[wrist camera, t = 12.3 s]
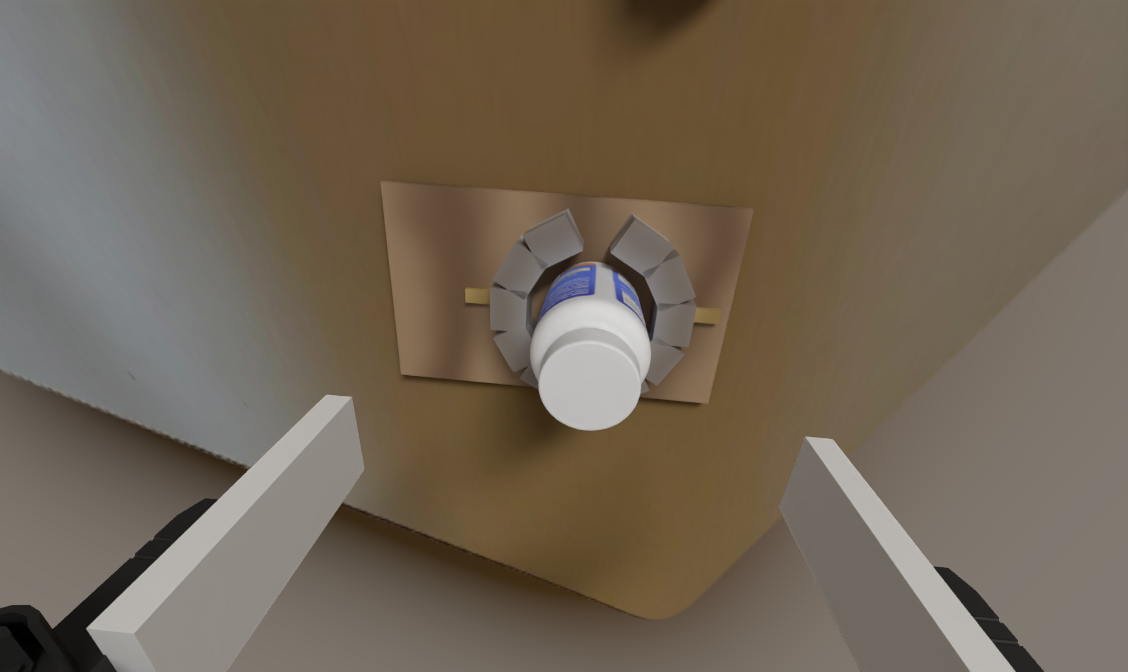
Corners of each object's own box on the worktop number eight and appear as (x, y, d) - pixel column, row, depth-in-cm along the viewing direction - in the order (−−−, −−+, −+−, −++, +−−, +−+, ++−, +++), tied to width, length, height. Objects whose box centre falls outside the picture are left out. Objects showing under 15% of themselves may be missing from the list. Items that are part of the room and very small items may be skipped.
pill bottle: (538, 335, 26) (507, 431, 18) (556, 249, 24) (529, 310, 15) (625, 354, 27) (636, 460, 18) (650, 270, 24) (678, 343, 15)
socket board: (405, 368, 29) (385, 392, 26) (387, 180, 24) (359, 185, 21) (705, 396, 28) (716, 423, 26) (749, 207, 23) (768, 216, 21)
